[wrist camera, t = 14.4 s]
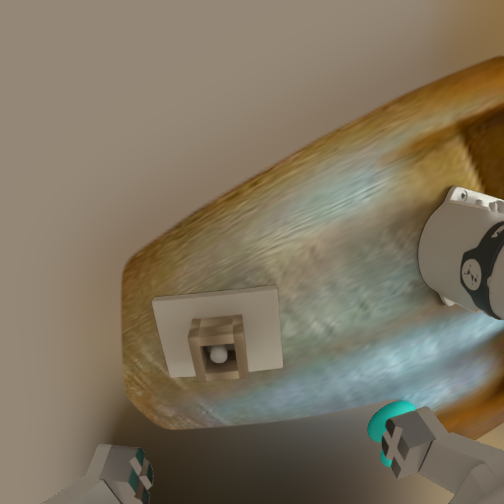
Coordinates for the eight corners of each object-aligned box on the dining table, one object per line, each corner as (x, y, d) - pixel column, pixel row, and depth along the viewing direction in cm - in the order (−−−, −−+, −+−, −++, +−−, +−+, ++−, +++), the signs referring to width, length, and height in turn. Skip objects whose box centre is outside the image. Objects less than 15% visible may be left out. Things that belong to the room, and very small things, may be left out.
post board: (276, 284, 40) (283, 303, 34) (281, 361, 43) (288, 387, 37) (154, 297, 40) (142, 316, 34) (172, 371, 43) (165, 396, 37)
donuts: (397, 438, 37) (444, 427, 38) (375, 400, 47) (419, 394, 48) (375, 475, 40) (420, 464, 40) (358, 438, 49) (401, 431, 50)
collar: (242, 314, 39) (243, 333, 34) (247, 356, 41) (249, 377, 36) (192, 319, 39) (187, 338, 34) (200, 360, 41) (197, 381, 36)
